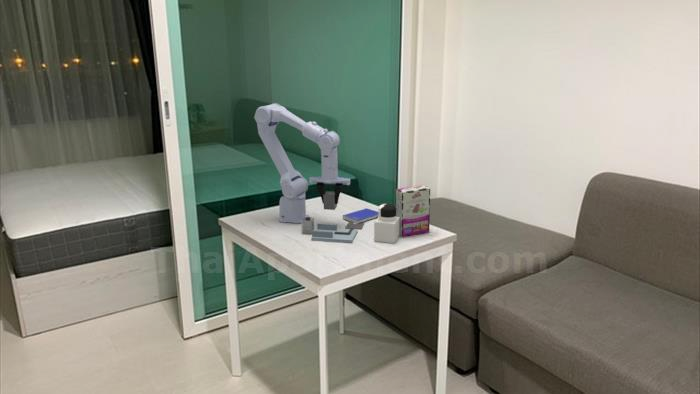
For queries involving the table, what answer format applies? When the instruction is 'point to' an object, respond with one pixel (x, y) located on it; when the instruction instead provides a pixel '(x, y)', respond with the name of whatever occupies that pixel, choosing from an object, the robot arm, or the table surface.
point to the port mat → (354, 225)
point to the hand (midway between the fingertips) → (330, 202)
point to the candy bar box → (413, 210)
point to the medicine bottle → (386, 224)
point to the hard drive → (361, 215)
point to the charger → (329, 200)
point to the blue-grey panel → (333, 233)
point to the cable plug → (307, 225)
